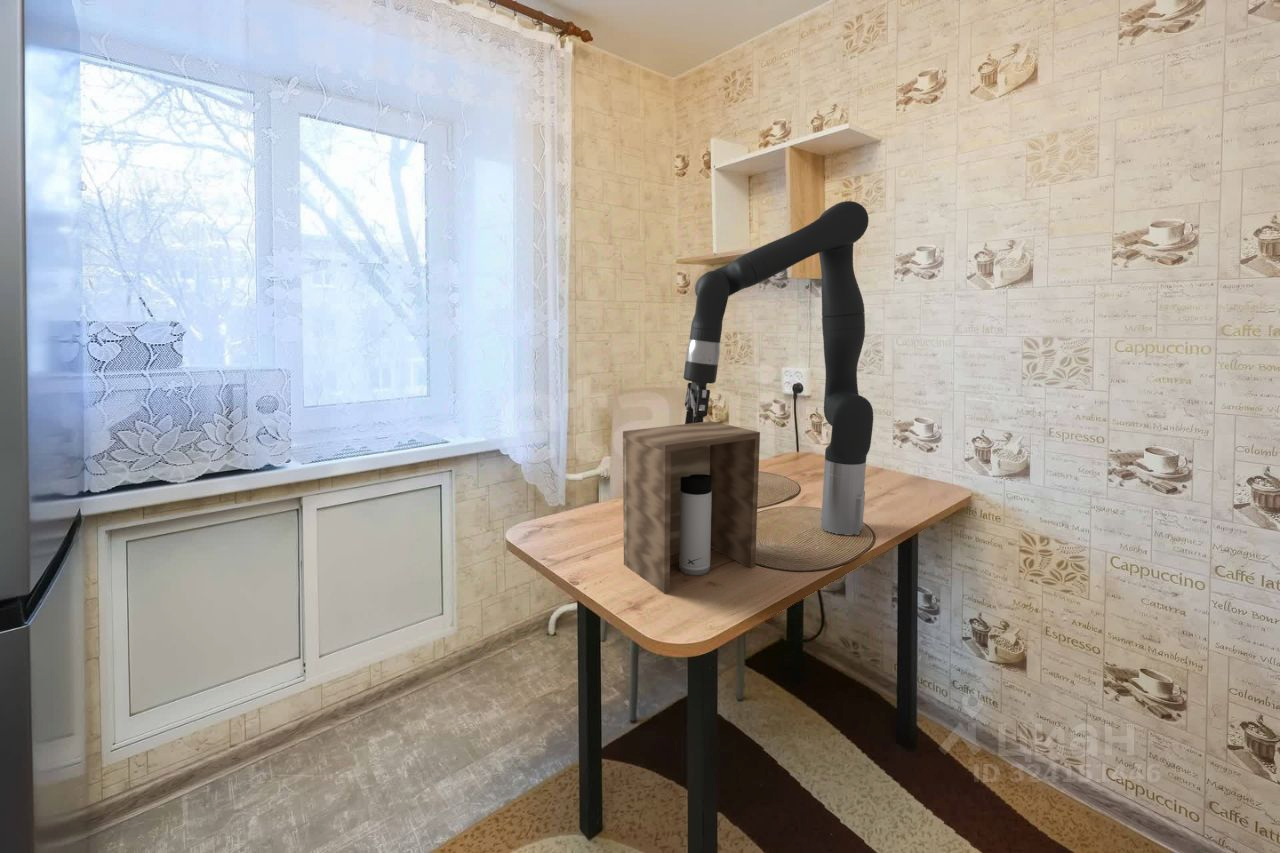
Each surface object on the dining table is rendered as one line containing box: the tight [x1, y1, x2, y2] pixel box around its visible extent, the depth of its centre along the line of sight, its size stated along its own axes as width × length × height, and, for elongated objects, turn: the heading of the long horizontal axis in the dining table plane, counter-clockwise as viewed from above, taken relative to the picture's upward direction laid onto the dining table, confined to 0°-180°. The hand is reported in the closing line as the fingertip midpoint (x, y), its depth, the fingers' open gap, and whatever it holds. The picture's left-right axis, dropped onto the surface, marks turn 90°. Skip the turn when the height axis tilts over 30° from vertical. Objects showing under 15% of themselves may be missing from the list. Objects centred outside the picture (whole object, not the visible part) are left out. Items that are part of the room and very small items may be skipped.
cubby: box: [622, 420, 761, 594], centre depth 114 cm, size 15×22×28 cm
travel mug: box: [678, 474, 712, 576], centre depth 113 cm, size 6×7×20 cm
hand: (692, 429), depth 132 cm, fingers open, 8 cm apart
